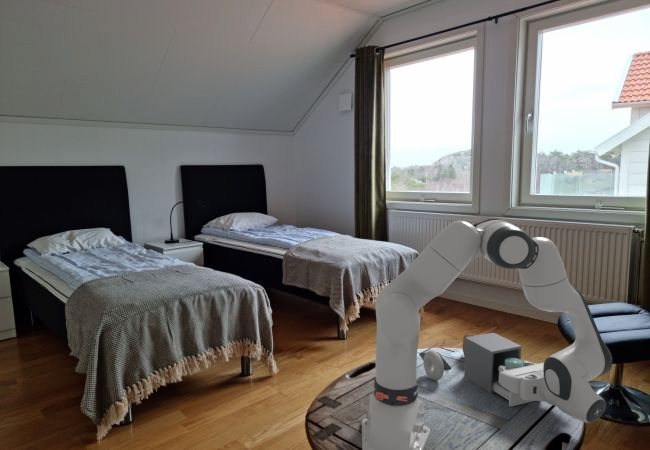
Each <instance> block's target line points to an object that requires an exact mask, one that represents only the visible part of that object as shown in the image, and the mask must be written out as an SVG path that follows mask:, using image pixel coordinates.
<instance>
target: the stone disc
mask: <svg viewBox="0 0 650 450" xmlns="http://www.w3.org/2000/svg"><path fill="white" fill-rule="evenodd" d="M477 335H478V334H475V333H472V332H471V333H469V332H468V333H466V334H464V336H463V339H462V352H463V356H464V357H465V337H471V336H477Z"/></svg>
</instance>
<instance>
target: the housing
mask: <svg viewBox="0 0 650 450" xmlns="http://www.w3.org/2000/svg"><path fill="white" fill-rule="evenodd" d="M476 335H477V336H471V337H465V356H464V370H463V371H464V375H463V376H464V377H465V378H466V379H468V380H469V381H471V382H473V383H474V384H475V385H476V386H478V387H480V388H481V389H483V390H484V391H485V392H487V393H489V394H494V393H496V392H495V391H494V390H492V382H496V381H499V366H505V359H506V358H517V359H520V360H522V345H520V344H518V343H516V342H515V341H514V342H513V341H512V340H510V339H507V338H506V337H503V335H502V336H501V335H500V334H497V333H495V332H490V333H489V332H488V333H484V334H476Z"/></svg>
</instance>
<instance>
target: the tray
mask: <svg viewBox="0 0 650 450" xmlns="http://www.w3.org/2000/svg"><path fill="white" fill-rule="evenodd" d="M492 390H494V391H495V393H496V394H498V395H499V396H501V397H503V398H504V399H506V400H507V401H508V406H509V407H515V406H519V405H522V404H527V403H531V402H533V401H526V400H523V399H521V398H520V395H518V394H515V393H513V392H511V391H508V390H506V389H505V388H504V387H503V386H501V385H500V383H499V381H496V382H492Z"/></svg>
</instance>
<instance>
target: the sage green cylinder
mask: <svg viewBox="0 0 650 450" xmlns="http://www.w3.org/2000/svg"><path fill="white" fill-rule="evenodd" d="M523 361H524V360H522V359H521V360H520V359H517V358H506V359H505V367H506V370H510V369H515V368H520V367H523V366H524V362H523ZM505 389H506V388H505ZM506 390H507V389H506ZM508 391H509V390H508Z"/></svg>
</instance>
